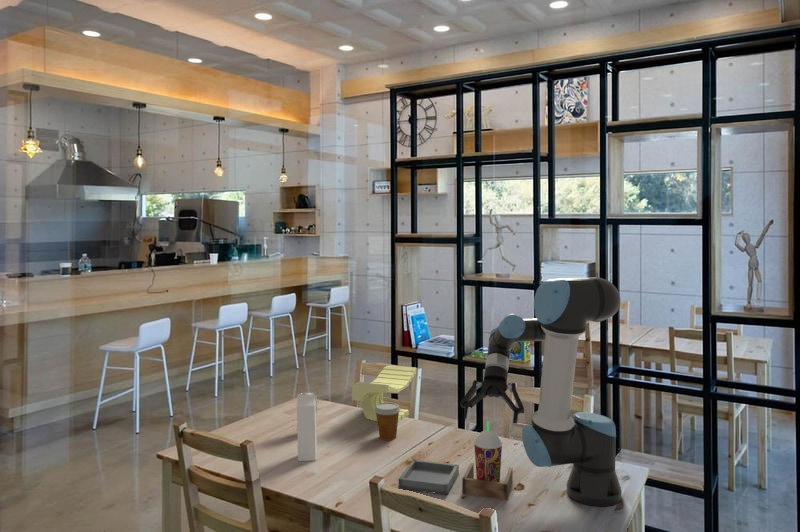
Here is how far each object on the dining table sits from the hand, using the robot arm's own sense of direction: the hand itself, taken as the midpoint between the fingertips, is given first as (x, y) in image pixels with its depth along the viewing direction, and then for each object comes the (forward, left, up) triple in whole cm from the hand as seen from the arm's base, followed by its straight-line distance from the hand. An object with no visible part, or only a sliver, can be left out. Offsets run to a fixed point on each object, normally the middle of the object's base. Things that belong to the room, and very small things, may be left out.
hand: (488, 430), depth 177 cm
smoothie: (-1, +6, -16) cm, 17 cm away
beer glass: (+73, -21, -16) cm, 78 cm away
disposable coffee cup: (+42, -25, -16) cm, 52 cm away
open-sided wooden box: (-1, +6, -15) cm, 16 cm away
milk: (+62, +1, -16) cm, 64 cm away
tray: (+17, +7, -15) cm, 24 cm away
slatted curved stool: (+51, -48, -16) cm, 72 cm away
